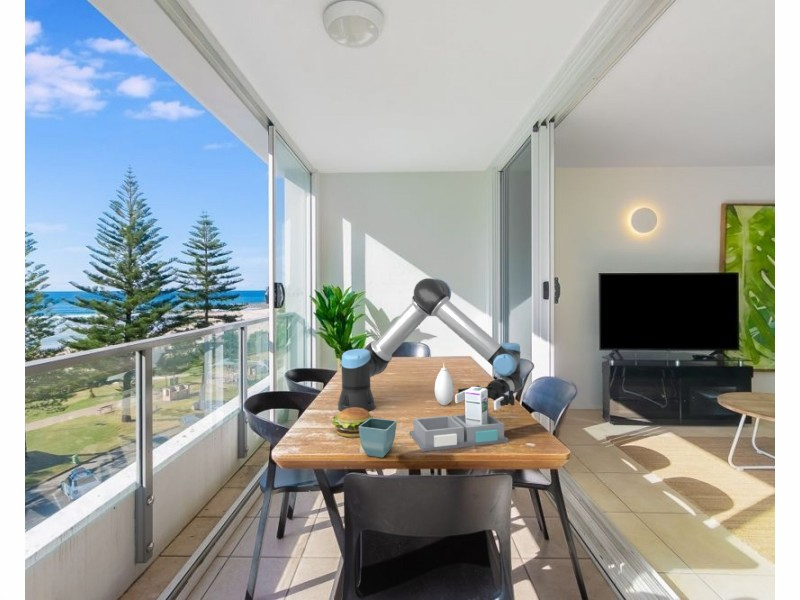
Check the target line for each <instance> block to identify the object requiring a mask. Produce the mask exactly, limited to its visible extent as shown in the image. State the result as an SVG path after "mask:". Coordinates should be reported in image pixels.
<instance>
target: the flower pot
mask: <svg viewBox="0 0 800 600" xmlns="http://www.w3.org/2000/svg"><path fill="white" fill-rule="evenodd" d="M397 422H398V421H397V420H395V419H394V420H392V419H386V418H376V417H373V418H370V419H368V420H367V421H366V422H364V423H363V424H361V425H360V426H359V433H360V437H359V438H360V445H361V447H362V449H363V451H364V453H365V454H366V456H368V457H369V456H370V457H375V458H384V457H385V456H386V455H387V454H388V453H389V452H390V450H391V449H392V446H393V444H394V442H395V439H396V430H397Z"/></svg>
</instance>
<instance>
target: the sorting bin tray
mask: <svg viewBox="0 0 800 600" xmlns="http://www.w3.org/2000/svg"><path fill="white" fill-rule="evenodd" d="M409 436H410V437H411V436H412V437H411V438H412V439H413V441H414V440H415V441H414V442H415V443H416V444H417V446H418V447H419V449H420V450H421V451H422V452H423V453H424V452H431V451H432V452H433V451H439V450H440V451H441V450H449V449H458V448H466V447H477V446H485V445H494V444H504V443H509V438H508V437H506V436H505V423H504V422H502V421H500V420H499V419H498V418H495V417H494V416H493V415H491V414H489V413H488V424H486V425H475V426H468V425H467V424H466V418H465V413H464V414H453V415H441V416H431V417H421V418H420V417H417V418H413V430H410V431H409Z"/></svg>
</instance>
